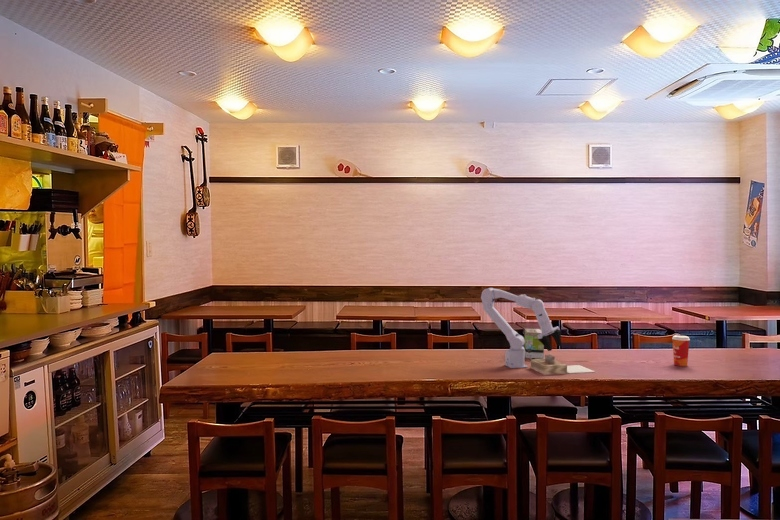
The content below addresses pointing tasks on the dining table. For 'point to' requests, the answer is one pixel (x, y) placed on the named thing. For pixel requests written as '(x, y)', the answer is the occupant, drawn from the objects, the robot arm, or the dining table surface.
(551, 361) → the lid
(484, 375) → the dining table surface
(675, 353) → the coffee cup
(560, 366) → the case
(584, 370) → the mat
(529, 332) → the tea box
